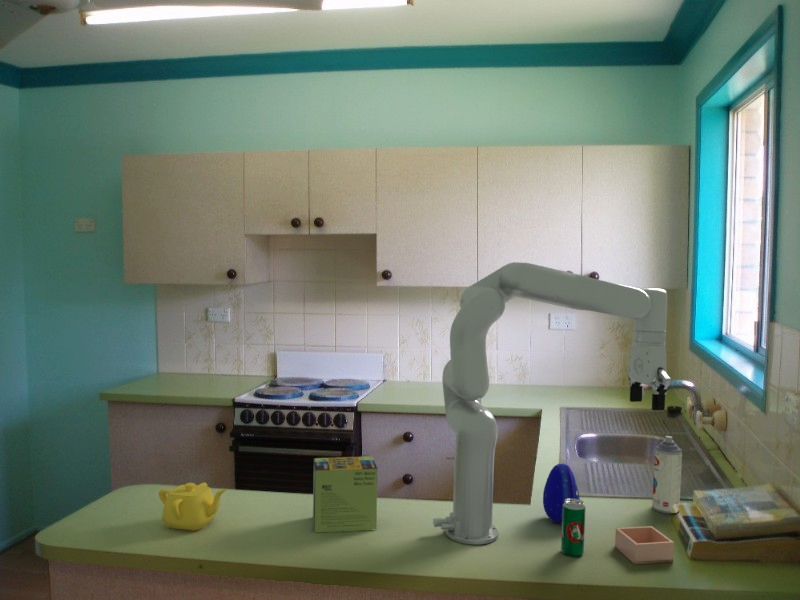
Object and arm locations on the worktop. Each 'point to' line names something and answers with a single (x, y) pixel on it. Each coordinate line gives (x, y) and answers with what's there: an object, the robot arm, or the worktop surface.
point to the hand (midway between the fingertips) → (646, 405)
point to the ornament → (559, 491)
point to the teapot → (189, 506)
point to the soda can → (573, 527)
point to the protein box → (344, 494)
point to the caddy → (644, 545)
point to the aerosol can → (666, 476)
